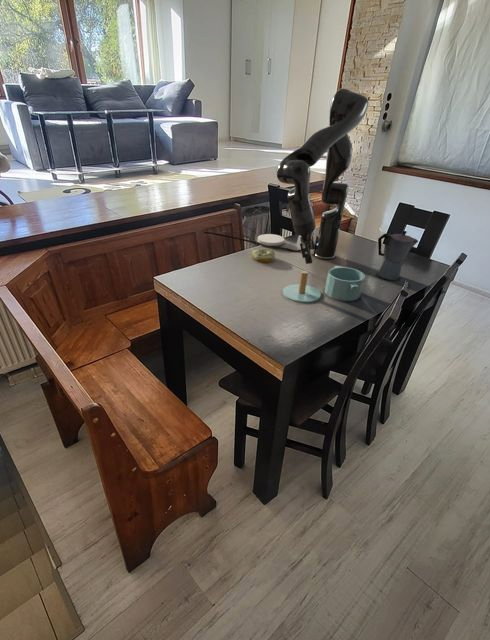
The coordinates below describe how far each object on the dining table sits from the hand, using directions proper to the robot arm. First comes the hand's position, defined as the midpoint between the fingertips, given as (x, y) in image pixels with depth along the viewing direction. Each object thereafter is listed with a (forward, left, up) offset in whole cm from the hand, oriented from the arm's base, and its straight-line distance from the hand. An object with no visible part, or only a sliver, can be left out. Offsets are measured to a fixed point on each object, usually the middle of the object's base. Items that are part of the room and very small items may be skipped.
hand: (310, 255), depth 136 cm
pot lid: (+1, -4, -14) cm, 15 cm away
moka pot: (+17, +38, -15) cm, 44 cm away
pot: (+12, +8, -14) cm, 20 cm away
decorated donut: (-33, +13, -15) cm, 39 cm away
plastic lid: (-45, +33, -15) cm, 58 cm away
